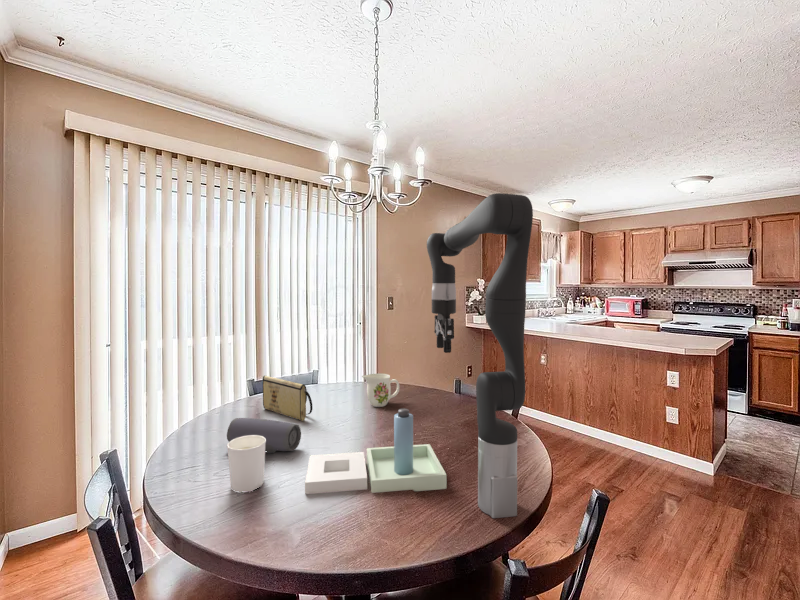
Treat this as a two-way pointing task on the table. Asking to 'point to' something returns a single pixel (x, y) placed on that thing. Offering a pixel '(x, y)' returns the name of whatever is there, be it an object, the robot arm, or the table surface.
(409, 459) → the bottle
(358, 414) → the table surface
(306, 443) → the table surface
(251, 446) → the candle holder
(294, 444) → the bluetooth speaker
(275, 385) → the clutch purse
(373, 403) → the pitcher
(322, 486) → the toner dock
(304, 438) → the table surface
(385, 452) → the tray
